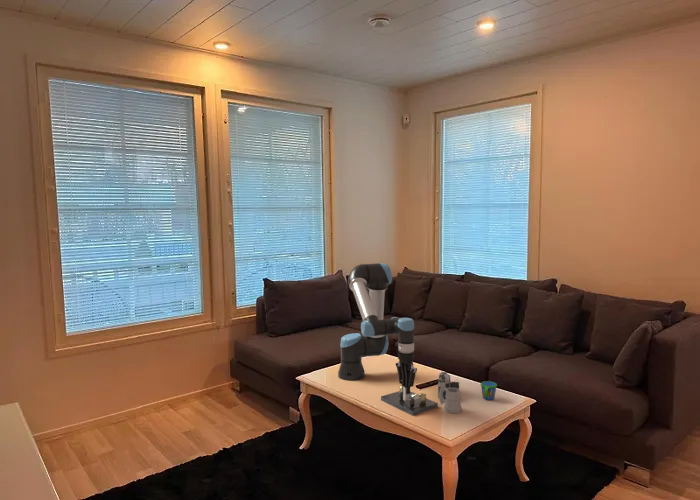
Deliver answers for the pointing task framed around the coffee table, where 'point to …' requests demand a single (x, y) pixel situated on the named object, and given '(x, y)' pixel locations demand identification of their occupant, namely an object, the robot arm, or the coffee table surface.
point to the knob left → (401, 393)
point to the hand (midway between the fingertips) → (406, 399)
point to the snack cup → (488, 390)
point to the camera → (446, 383)
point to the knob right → (417, 400)
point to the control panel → (404, 405)
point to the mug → (450, 399)
